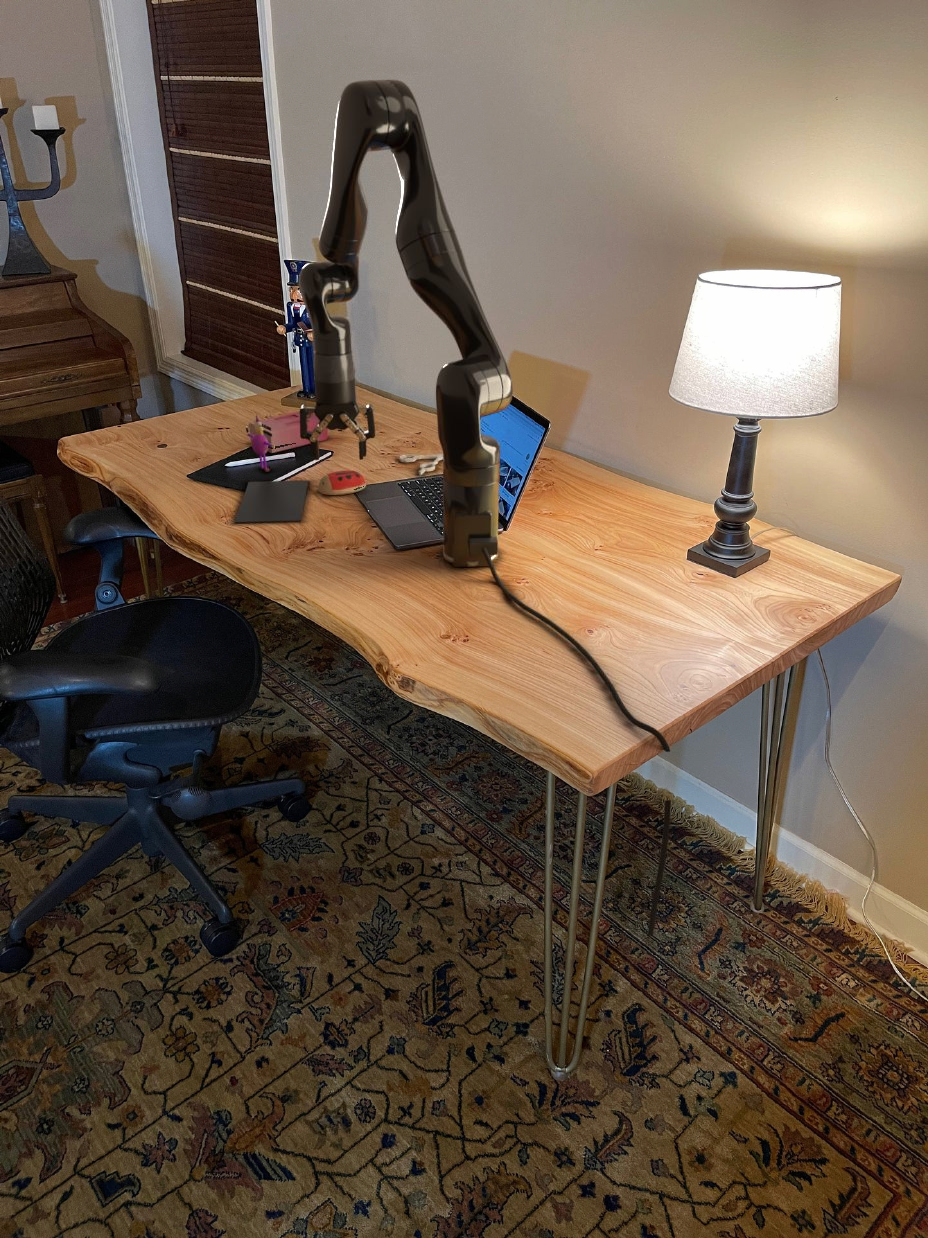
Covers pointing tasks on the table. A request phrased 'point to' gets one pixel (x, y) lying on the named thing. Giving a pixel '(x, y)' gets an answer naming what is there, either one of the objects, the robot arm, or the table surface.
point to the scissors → (432, 464)
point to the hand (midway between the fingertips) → (339, 458)
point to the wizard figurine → (260, 441)
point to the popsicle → (287, 431)
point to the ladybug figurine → (341, 483)
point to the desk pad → (272, 502)
